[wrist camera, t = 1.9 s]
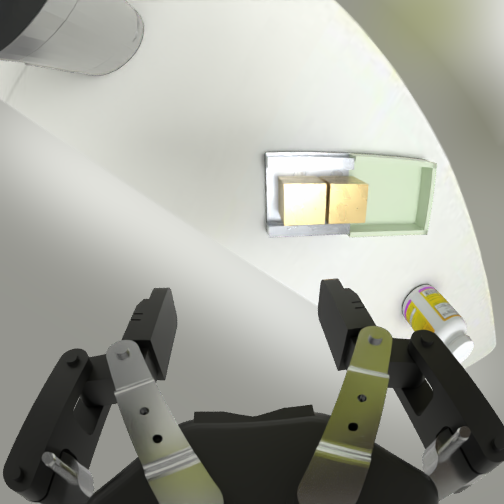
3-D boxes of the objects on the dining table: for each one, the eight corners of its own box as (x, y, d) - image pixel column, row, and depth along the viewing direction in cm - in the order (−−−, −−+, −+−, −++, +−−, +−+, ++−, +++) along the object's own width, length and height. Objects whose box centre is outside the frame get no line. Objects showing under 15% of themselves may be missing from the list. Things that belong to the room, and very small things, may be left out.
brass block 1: (278, 212, 31) (284, 225, 27) (278, 176, 29) (284, 184, 25) (314, 211, 31) (324, 224, 27) (315, 175, 29) (326, 183, 26)
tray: (341, 228, 33) (349, 237, 30) (346, 152, 29) (355, 156, 27) (415, 226, 33) (426, 234, 31) (423, 159, 29) (436, 163, 27)
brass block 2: (317, 211, 31) (328, 224, 27) (319, 175, 29) (330, 183, 26) (351, 210, 31) (365, 223, 27) (353, 176, 29) (368, 184, 26)
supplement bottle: (409, 324, 41) (446, 379, 29) (394, 303, 39) (435, 362, 27) (439, 298, 39) (481, 348, 28) (427, 274, 37) (476, 326, 25)
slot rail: (266, 231, 33) (269, 240, 30) (265, 152, 29) (267, 154, 27) (341, 228, 33) (349, 236, 31) (346, 152, 29) (354, 155, 27)
